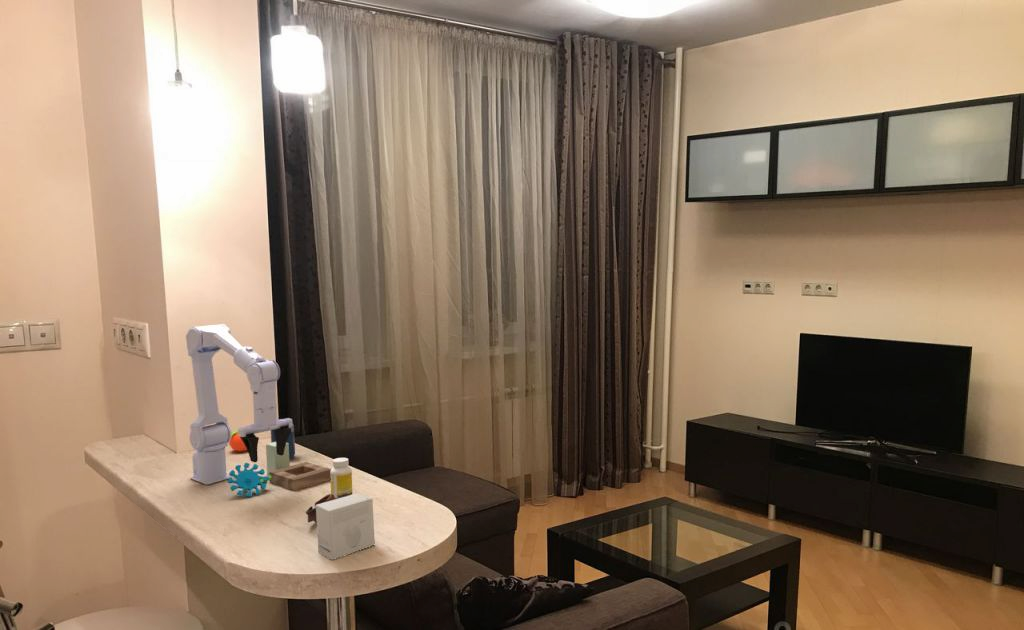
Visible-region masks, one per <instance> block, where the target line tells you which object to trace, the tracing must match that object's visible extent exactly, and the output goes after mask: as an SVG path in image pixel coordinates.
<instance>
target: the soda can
mask: <svg viewBox="0 0 1024 630" xmlns="http://www.w3.org/2000/svg"><path fill="white" fill-rule="evenodd" d="M280 419H281V418H280ZM280 419H279V418H277V420H280ZM289 428H291V433H290V435H289V437H288V440H287V442H286V443H289V461H291V460H292V459H293V458H294V457H295V455H296V447H295V446H296V444H295V443H296V442H295V425H294V423H293V422H292V426H290V427H289ZM273 442H276V438H275V434H274V430H270V443H273Z"/></svg>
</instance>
